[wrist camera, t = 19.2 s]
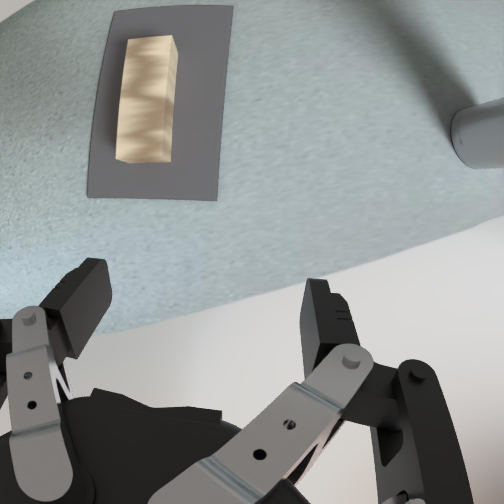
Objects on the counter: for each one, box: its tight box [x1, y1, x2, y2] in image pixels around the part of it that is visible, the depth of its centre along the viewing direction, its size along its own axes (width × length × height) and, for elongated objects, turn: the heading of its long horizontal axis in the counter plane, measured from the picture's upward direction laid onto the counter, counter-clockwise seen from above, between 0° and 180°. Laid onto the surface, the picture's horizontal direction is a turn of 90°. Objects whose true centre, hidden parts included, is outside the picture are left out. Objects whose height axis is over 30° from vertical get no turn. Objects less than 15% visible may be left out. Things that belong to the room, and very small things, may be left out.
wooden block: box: [116, 35, 178, 163], centre depth 32 cm, size 5×5×14 cm
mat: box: [87, 5, 234, 201], centre depth 34 cm, size 16×26×1 cm, turn 176°
